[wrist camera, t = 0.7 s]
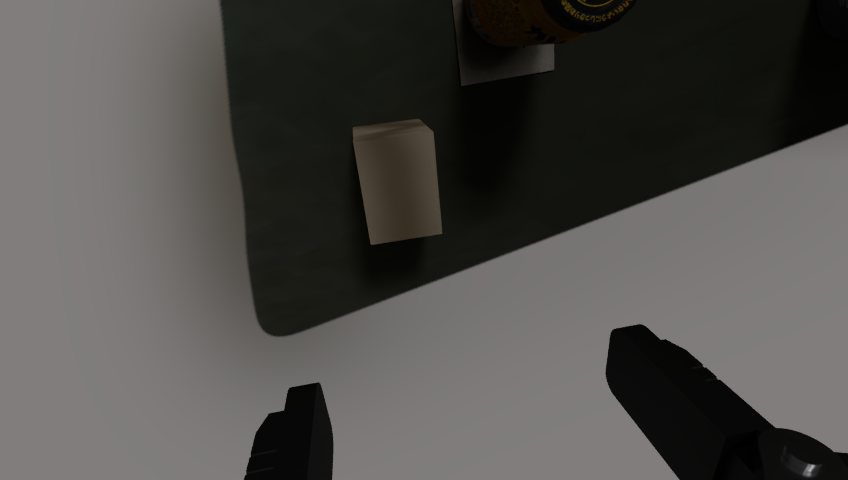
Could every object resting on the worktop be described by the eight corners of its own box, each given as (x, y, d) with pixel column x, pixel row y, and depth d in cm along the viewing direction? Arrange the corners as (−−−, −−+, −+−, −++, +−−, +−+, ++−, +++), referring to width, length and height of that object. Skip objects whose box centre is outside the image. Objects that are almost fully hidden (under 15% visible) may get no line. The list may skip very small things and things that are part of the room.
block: (418, 118, 31) (433, 132, 25) (427, 205, 34) (442, 233, 28) (352, 127, 30) (353, 142, 25) (367, 214, 33) (370, 244, 28)
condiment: (551, -66, 27) (684, -146, 16) (552, 70, 31) (661, 76, 20) (446, -51, 27) (511, -124, 16) (460, 86, 30) (521, 102, 19)
